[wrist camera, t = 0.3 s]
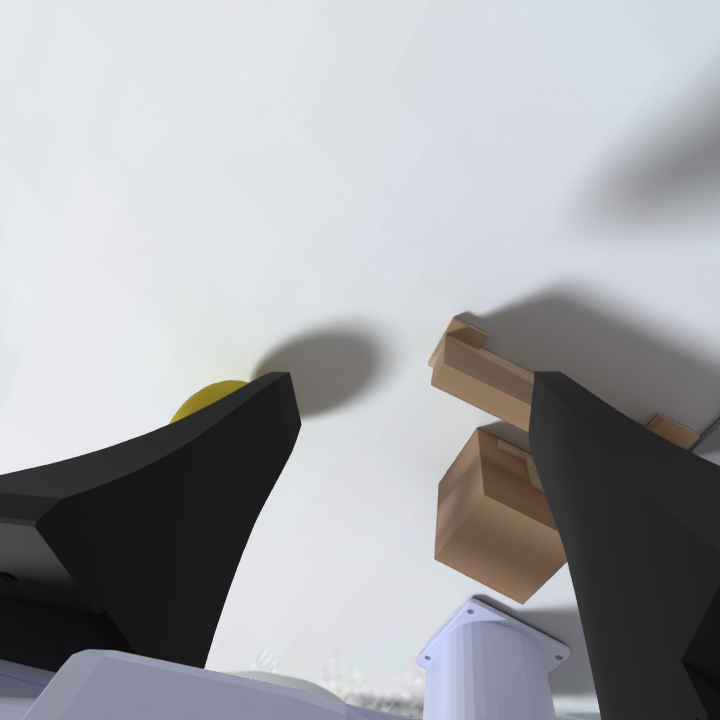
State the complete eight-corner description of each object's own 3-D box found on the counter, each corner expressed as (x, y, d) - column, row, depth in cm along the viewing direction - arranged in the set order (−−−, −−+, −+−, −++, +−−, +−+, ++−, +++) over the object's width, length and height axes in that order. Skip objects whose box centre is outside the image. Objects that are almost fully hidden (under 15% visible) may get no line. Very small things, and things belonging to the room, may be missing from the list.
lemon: (259, 347, 24) (176, 404, 17) (311, 413, 25) (252, 495, 18) (206, 386, 26) (112, 452, 19) (256, 445, 27) (183, 530, 20)
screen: (653, 470, 21) (708, 541, 16) (428, 361, 22) (422, 400, 17) (693, 430, 20) (765, 495, 15) (453, 316, 20) (453, 346, 16)
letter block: (507, 517, 24) (522, 604, 19) (438, 483, 25) (434, 559, 19) (555, 461, 22) (587, 542, 17) (478, 424, 22) (486, 491, 17)
